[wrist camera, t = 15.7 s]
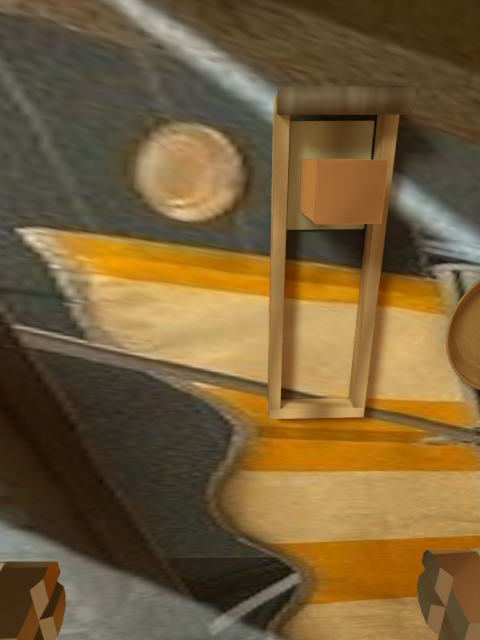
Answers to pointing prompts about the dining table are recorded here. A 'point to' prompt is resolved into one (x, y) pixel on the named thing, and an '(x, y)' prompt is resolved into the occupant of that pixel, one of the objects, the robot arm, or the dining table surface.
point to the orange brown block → (343, 190)
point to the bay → (328, 144)
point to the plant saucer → (466, 337)
